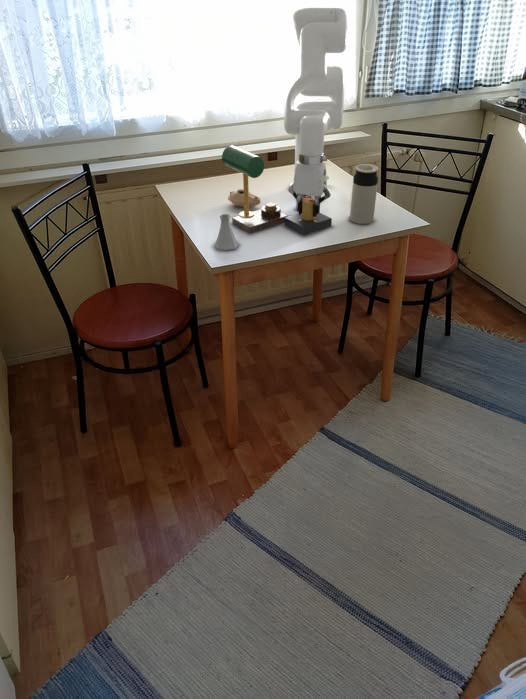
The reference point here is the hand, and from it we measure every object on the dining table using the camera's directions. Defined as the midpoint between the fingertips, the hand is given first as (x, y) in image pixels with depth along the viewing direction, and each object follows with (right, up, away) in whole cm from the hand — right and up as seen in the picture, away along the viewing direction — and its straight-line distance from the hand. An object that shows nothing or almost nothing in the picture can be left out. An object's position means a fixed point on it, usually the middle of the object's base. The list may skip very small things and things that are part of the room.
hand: (308, 213), depth 190 cm
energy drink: (-1, +5, +14) cm, 15 cm away
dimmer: (0, -4, +3) cm, 5 cm away
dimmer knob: (0, -1, +1) cm, 1 cm away
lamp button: (-12, +3, +5) cm, 14 cm away
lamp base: (-16, -2, +5) cm, 17 cm away
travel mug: (+19, -1, +7) cm, 20 cm away
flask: (-27, -13, -9) cm, 31 cm away
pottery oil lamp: (-22, +6, +17) cm, 28 cm away
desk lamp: (-20, -1, 0) cm, 20 cm away
